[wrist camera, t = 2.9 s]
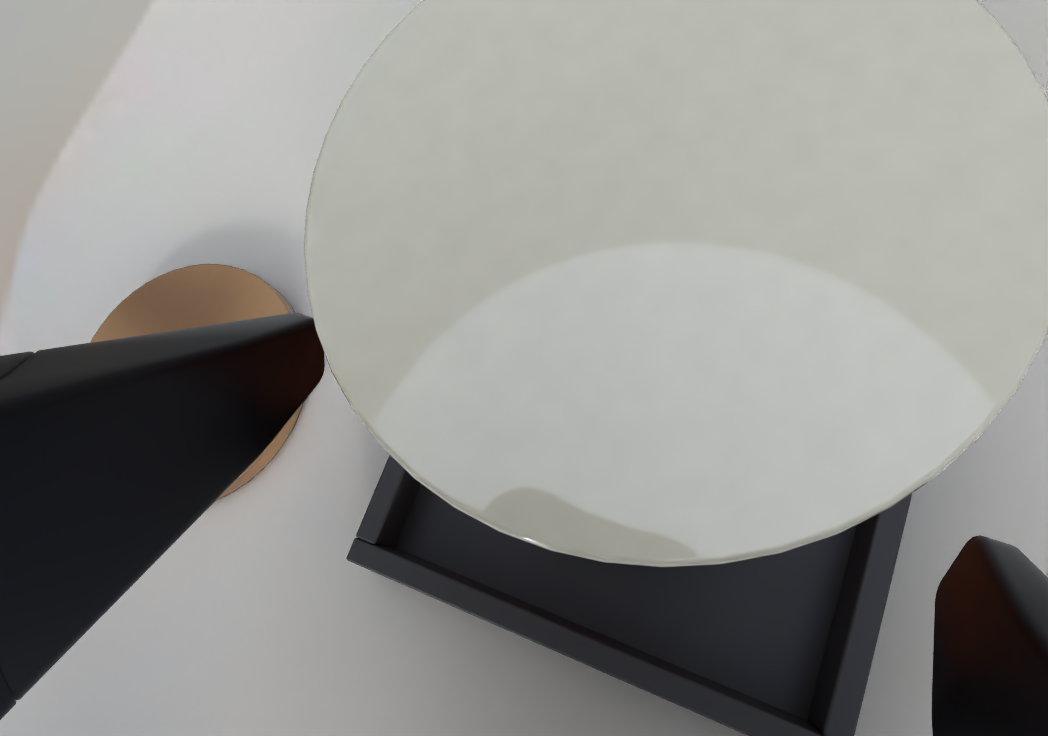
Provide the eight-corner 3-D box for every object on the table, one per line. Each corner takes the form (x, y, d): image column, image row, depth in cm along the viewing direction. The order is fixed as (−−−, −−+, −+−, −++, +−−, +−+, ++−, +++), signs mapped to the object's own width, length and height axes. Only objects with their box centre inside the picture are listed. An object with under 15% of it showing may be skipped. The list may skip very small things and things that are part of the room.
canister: (658, 630, 16) (671, 776, 5) (464, 428, 19) (179, 220, 7) (857, 420, 17) (1270, 123, 6) (643, 249, 19) (629, -196, 8)
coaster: (164, 565, 20) (150, 565, 19) (47, 389, 22) (31, 384, 22) (357, 377, 20) (349, 371, 20) (220, 228, 23) (209, 219, 22)
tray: (822, 753, 15) (845, 778, 14) (374, 560, 19) (344, 559, 17) (937, 289, 18) (969, 257, 16) (525, 190, 21) (513, 156, 19)
